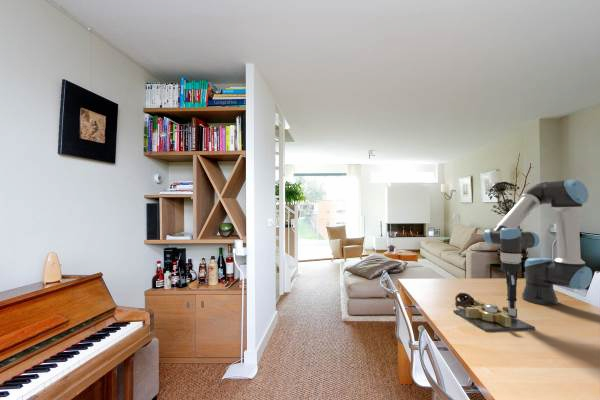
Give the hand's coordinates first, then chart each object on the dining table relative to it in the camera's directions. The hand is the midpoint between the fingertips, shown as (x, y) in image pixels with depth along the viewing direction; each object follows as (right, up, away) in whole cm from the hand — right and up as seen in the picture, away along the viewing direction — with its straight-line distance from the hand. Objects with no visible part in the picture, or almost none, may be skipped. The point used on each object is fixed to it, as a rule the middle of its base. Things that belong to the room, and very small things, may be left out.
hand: (512, 315), depth 130 cm
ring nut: (-8, -2, +2) cm, 8 cm away
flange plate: (-8, -3, +2) cm, 9 cm away
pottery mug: (-10, -4, +19) cm, 22 cm away
